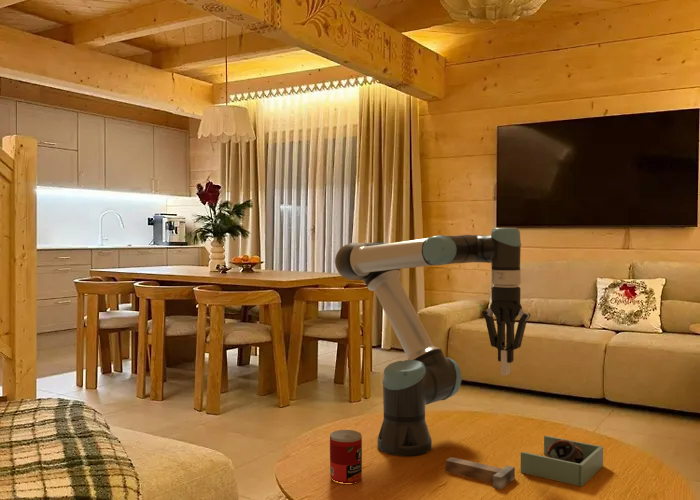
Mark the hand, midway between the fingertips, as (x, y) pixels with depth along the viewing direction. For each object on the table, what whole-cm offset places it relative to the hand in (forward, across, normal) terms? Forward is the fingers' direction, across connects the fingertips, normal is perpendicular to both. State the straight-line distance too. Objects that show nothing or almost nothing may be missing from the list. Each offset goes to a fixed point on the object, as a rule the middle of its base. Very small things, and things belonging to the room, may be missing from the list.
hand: (505, 374), depth 173 cm
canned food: (+23, -25, -38) cm, 50 cm away
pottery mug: (+23, +16, +1) cm, 27 cm away
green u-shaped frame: (+22, +15, 0) cm, 27 cm away
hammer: (+22, 0, -17) cm, 28 cm away
